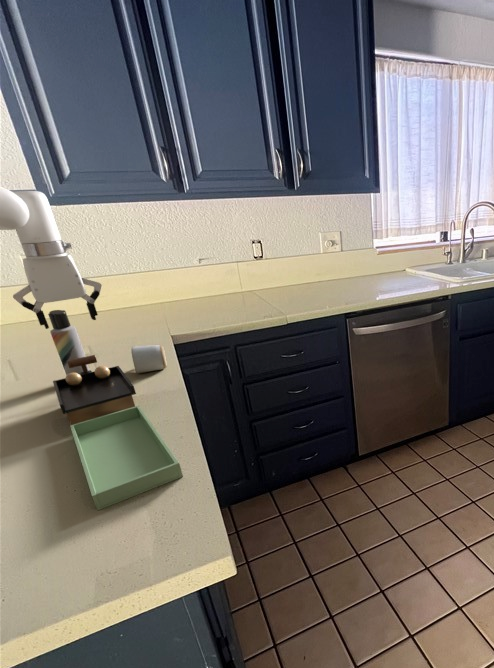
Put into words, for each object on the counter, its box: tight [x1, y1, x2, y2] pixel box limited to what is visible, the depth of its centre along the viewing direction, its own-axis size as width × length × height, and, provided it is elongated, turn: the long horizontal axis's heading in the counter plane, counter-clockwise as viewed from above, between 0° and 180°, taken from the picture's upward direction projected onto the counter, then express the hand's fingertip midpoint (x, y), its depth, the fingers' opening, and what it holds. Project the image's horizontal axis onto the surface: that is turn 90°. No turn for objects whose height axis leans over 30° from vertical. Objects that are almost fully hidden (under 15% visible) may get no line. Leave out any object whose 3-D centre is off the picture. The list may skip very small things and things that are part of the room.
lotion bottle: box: [47, 309, 91, 377], centre depth 116 cm, size 6×6×20 cm
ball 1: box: [65, 373, 82, 386], centre depth 102 cm, size 3×3×3 cm
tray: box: [69, 405, 184, 511], centre depth 82 cm, size 13×31×3 cm, turn 40°
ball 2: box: [94, 365, 110, 379], centre depth 106 cm, size 3×3×3 cm
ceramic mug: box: [131, 344, 168, 374], centre depth 125 cm, size 11×8×8 cm
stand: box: [66, 395, 136, 425], centre depth 103 cm, size 13×14×4 cm
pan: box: [52, 354, 137, 415], centre depth 101 cm, size 14×23×5 cm, turn 40°
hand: (71, 323), depth 104 cm, fingers open, 9 cm apart
